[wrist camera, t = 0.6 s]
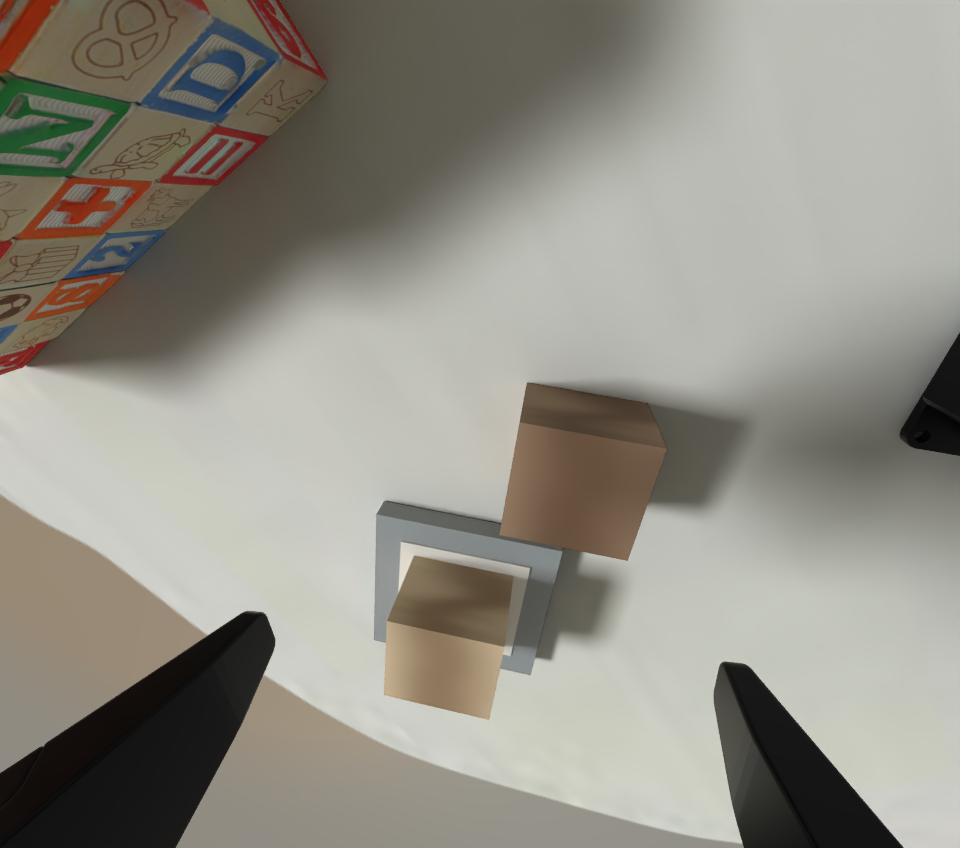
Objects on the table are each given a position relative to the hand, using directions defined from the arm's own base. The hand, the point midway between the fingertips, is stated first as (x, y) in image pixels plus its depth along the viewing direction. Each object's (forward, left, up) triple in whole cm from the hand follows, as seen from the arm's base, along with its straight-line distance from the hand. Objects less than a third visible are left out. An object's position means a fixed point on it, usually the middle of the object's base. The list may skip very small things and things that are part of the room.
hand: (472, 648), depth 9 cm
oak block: (+1, +11, -11) cm, 15 cm away
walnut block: (-3, +2, -12) cm, 13 cm away
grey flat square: (+1, +11, -12) cm, 16 cm away
